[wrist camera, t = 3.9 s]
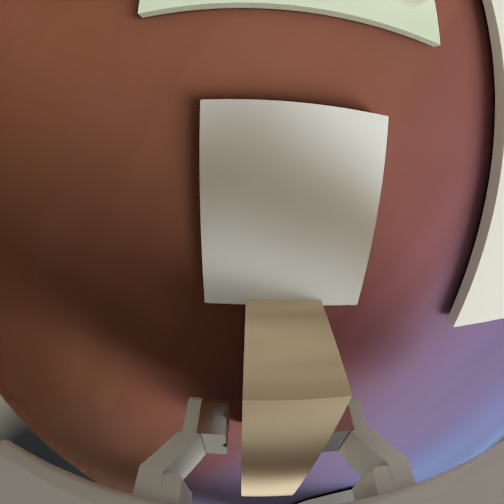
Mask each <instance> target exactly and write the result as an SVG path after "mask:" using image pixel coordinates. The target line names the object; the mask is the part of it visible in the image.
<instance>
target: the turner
mask: <svg viewBox="0 0 504 504" xmlns="http://www.w3.org/2000/svg"><path fill="white" fill-rule="evenodd" d="M387 131H388V116H384V115H379V114H374V113H369V112H364V111H359V110H353V109H347V108H341V107H334V106H327V105H319V104H310V103H301V102H289V101H275V100H254V99H205V100H200V218H201V245H202V266H203V283H204V299H205V303H221V304H246V311H245V339H244V369H243V399H242V473H241V496H286V495H293V494H294V493H295V492H296V490H297V489H298V487H299V486H300V484H301V483H302V482H303V480H304V479H305V477H306V476H307V474H308V473H309V471H310V470H311V468H312V467H313V465H314V463H315V462H316V460H317V459H318V457H319V456H320V454H321V452H322V451H323V449H324V447H325V446H326V444H327V442H328V440H329V439H330V437H331V435H332V434H333V432H334V430H335V428H336V426H337V425H338V423H339V421H340V419H341V417H342V415H343V413H344V411H345V409H346V407H347V405H348V403H349V401H350V399H351V397H352V393H351V389H350V386H349V383H348V379H347V376H346V373H345V370H344V367H343V363H342V360H341V357H340V354H339V351H338V348H337V345H336V342H335V339H334V336H333V333H332V330H331V327H330V324H329V321H328V318H327V315H326V312H325V309H324V306H323V305H357V303H358V299H359V296H360V292H361V288H362V284H363V280H364V276H365V272H366V267H367V263H368V259H369V254H370V249H371V244H372V240H373V234H374V229H375V224H376V218H377V212H378V206H379V200H380V194H381V187H382V179H383V172H384V163H385V154H386V143H387Z"/></svg>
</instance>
